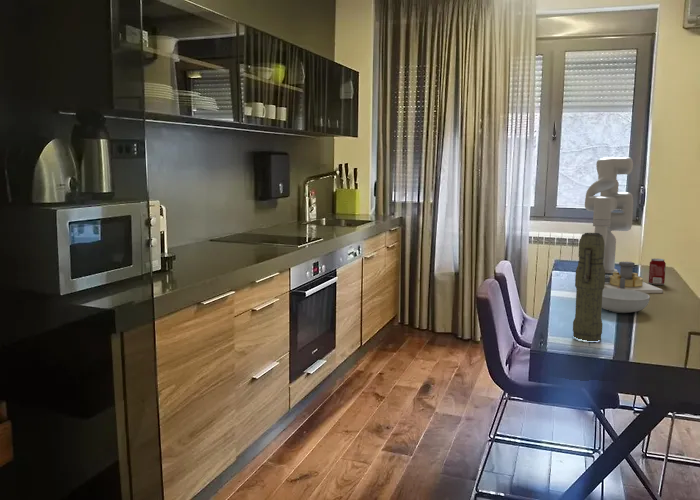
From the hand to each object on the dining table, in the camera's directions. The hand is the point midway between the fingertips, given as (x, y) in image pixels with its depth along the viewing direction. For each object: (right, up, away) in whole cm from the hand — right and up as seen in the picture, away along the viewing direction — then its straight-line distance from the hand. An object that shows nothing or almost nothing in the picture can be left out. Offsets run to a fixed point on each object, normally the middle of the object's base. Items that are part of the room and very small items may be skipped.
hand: (599, 261), depth 280 cm
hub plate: (+9, -12, -7) cm, 16 cm away
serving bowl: (-13, -18, -48) cm, 53 cm away
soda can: (+27, -11, 0) cm, 29 cm away
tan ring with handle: (+4, -10, -5) cm, 12 cm away
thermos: (-40, -24, -86) cm, 98 cm away
